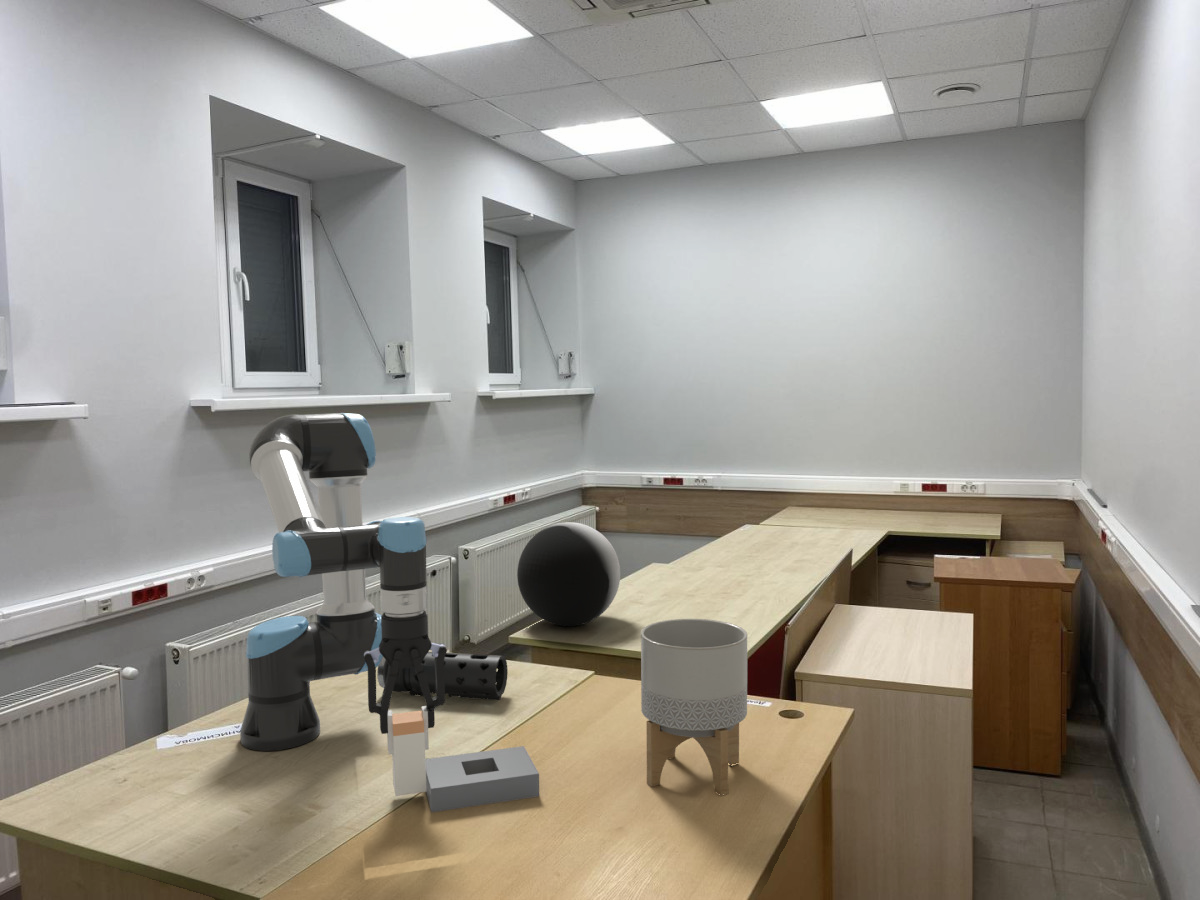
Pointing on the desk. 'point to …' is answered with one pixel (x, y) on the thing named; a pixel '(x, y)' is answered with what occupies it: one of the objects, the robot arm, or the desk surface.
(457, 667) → the muzzle brake
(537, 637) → the desk surface
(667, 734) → the planter
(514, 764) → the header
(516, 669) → the desk surface
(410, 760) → the plug
